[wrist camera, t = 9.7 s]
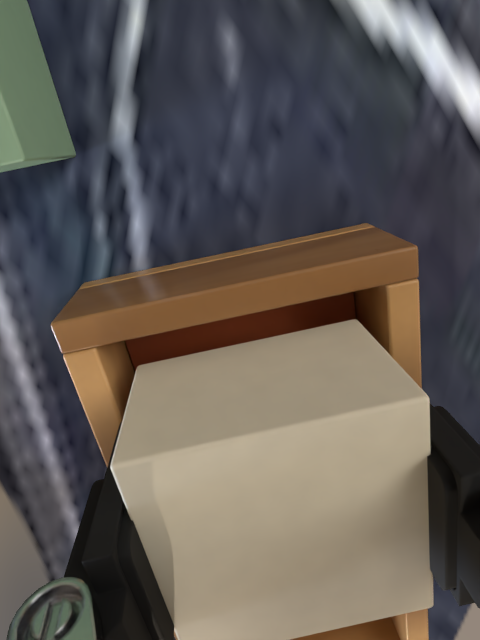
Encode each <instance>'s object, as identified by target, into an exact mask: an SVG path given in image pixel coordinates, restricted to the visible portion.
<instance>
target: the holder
mask: <svg viewBox="0 0 480 640" xmlns="http://www.w3.org/2000/svg"><path fill="white" fill-rule="evenodd" d="M418 276H419V270H418V248H417V246H416V245H414V244H412V243H410V242H407V241H405V240H403V239H401V238H398V237H396V236H394V235H392V234H390V233H387V232H385V231H383V230H381V229H379V228H376V227H374V226H372V225H370V224H368V223H365V224H360V225H355V226H351V227H346V228H341V229H336V230H332V231H327V232H322V233H318V234H313V235H308V236H303V237H299V238H294V239H289V240H284V241H280V242H275V243H270V244H265V245H261V246H256V247H251V248H246V249H242V250H237V251H232V252H228V253H223V254H218V255H213V256H209V257H204V258H199V259H194V260H190V261H185V262H180V263H175V264H171V265H166V266H161V267H157V268H152V269H147V270H142V271H138V272H133V273H128V274H123V275H119V276H114V277H109V278H104V279H100V280H95V281H90V282H85V283H84V284H83V285H82V286H81V287H80V288H79V290H78V291H77V292H76V293H75V295H74V296H73V297H72V298H71V299H70V301H69V302H68V303H67V304H66V306H65V307H64V308H63V309H62V310H61V312H60V313H59V314H58V315H57V316H56V318H55V319H54V320H53V321H52V323H51V328H52V331H53V333H54V336H55V338H56V341H57V343H58V346H59V348H60V351H61V352H62V353H64V355H63V358H64V361H65V363H66V366H67V368H68V371H69V373H70V376H71V378H72V381H73V383H74V386H75V388H76V391H77V393H78V396H79V398H80V401H81V403H82V406H83V408H84V411H85V413H86V416H87V418H88V421H89V423H90V426H91V428H92V431H93V433H94V436H95V438H96V441H97V443H98V446H99V448H100V451H101V453H102V456H103V458H104V461H105V463H106V466H107V467H108V463H109V460H110V456H111V453H112V449H113V446H114V442H115V438H116V435H117V431H118V428H119V425H120V423H121V422H122V420H123V417H124V413H125V409H126V406H127V402H128V398H129V395H130V391H131V387H132V384H133V380H134V376H135V373H136V369H137V367H138V366H139V365H143V364H148V363H152V362H157V361H162V360H166V359H171V358H176V357H180V356H185V355H190V354H194V353H199V352H204V351H208V350H213V349H218V348H222V347H227V346H232V345H236V344H241V343H246V342H250V341H255V340H260V339H264V338H269V337H274V336H278V335H283V334H288V333H292V332H297V331H302V330H306V329H311V328H316V327H320V326H325V325H330V324H334V323H339V322H344V321H348V320H353V319H356V320H358V321H359V322H360V323H361V324H362V325H363V327H364V328H365V329H366V330H367V331H368V332H369V333H370V334H371V335H372V336H373V337H374V338H375V339H376V340H377V342H378V343H379V344H380V345H381V346H382V347H383V348H384V349H385V350H386V351H387V352H388V353H389V354H390V355H391V357H392V358H393V359H394V360H395V361H396V362H397V363H398V364H399V365H400V366H401V367H402V368H403V369H404V371H405V372H406V373H407V374H408V375H409V376H410V377H411V378H412V379H413V380H414V381H415V382H416V383H417V384H418V386H419V387H420V388H421V389H422V384H421V345H420V307H419V281H418V279H416V278H418ZM174 636H175V638H176V640H178V638H177V636H176V633H175V631H174ZM290 640H428V608H427V609H423V610H418V611H414V612H409V613H405V614H400V615H396V616H392V617H387V618H383V619H378V620H374V621H369V622H365V623H361V624H356V625H352V626H347V627H343V628H338V629H334V630H330V631H325V632H321V633H316V634H312V635H307V636H303V637H298V638H294V639H290Z"/></svg>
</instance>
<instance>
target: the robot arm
mask: <svg viewBox="0 0 480 640" xmlns="http://www.w3.org/2000/svg"><path fill="white" fill-rule="evenodd" d="M121 424H122V422H121V423H120V425H119V428H118V431H117V435H116V438H115V442H114V446H113V449H112V453H111V456H110V460H109V463H108V467H107V471H106V474H105V478H104V479H102V480H97V481H95V482H94V483H93V486H92V488H91V491H90V494H89V497H88V501H87V504H86V507H85V510H84V514H83V517H82V520H81V523H80V526H79V530H78V533H77V536H76V539H75V543H74V546H73V549H72V552H71V556H70V559H69V562H68V565H67V569H66V572H65V575H64V578H59V579H57V580H54V581H51V582H49V583H47V584H46V585H44V586H42V587H41V588H39V589H38V590H36V591H35V592H34V593H33V594H32V595H31V596H30V597H29V598H28V599H26V600H25V602H24V603H23V604H22V606H21V607H20V608H19V609H18V611H17V612H16V614H15V616H14V618H13V620H12V622H11V624H10V627H9V631H8V635H7V640H174V624H173V621H172V619H171V616H170V613H169V611H168V608H167V606H166V603H165V601H164V598H163V596H162V593H161V591H160V588H159V585H158V583H157V580H156V578H155V575H154V573H153V570H152V568H151V565H150V563H149V560H148V557H147V555H146V552H145V550H144V547H143V545H142V542H141V540H140V537H139V535H138V532H137V529H136V527H135V524H134V522H133V520H131V519H130V517H129V514H128V512H127V509H126V507H125V504H124V501H123V499H122V496H121V494H120V491H119V489H118V486H117V484H116V481H115V479H114V476H113V474H112V471H111V468H110V465H111V461H112V457H113V454H114V450H115V446H116V443H117V439H118V435H119V431H120V428H121ZM430 449H431V454H430V455H429V456H427V470H428V513H429V556H430V570H431V572H432V574H433V576H434V577H435V579H436V581H437V583H438V585H439V586H440V588H441V589H442V590H448V589H450V591H451V592H452V594H453V596H454V598H455V599H456V601H457V603H458V605H459V606H462V605H466V604H471V603H476V605H477V606H478V608H480V445H479V444H478V443H477V442H476V441H475V440H474V439H473V438H472V437H471V436H470V435H469V434H468V433H467V432H466V430H465V429H464V428H463V427H462V426H461V425H460V424H459V423H458V422H457V421H456V420H455V419H454V418H453V417H452V416H451V415H450V414H449V413H448V411H447V410H445V409H444V408H443V407H440V406H437V407H433V406H432V405H431V404H430Z"/></svg>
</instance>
